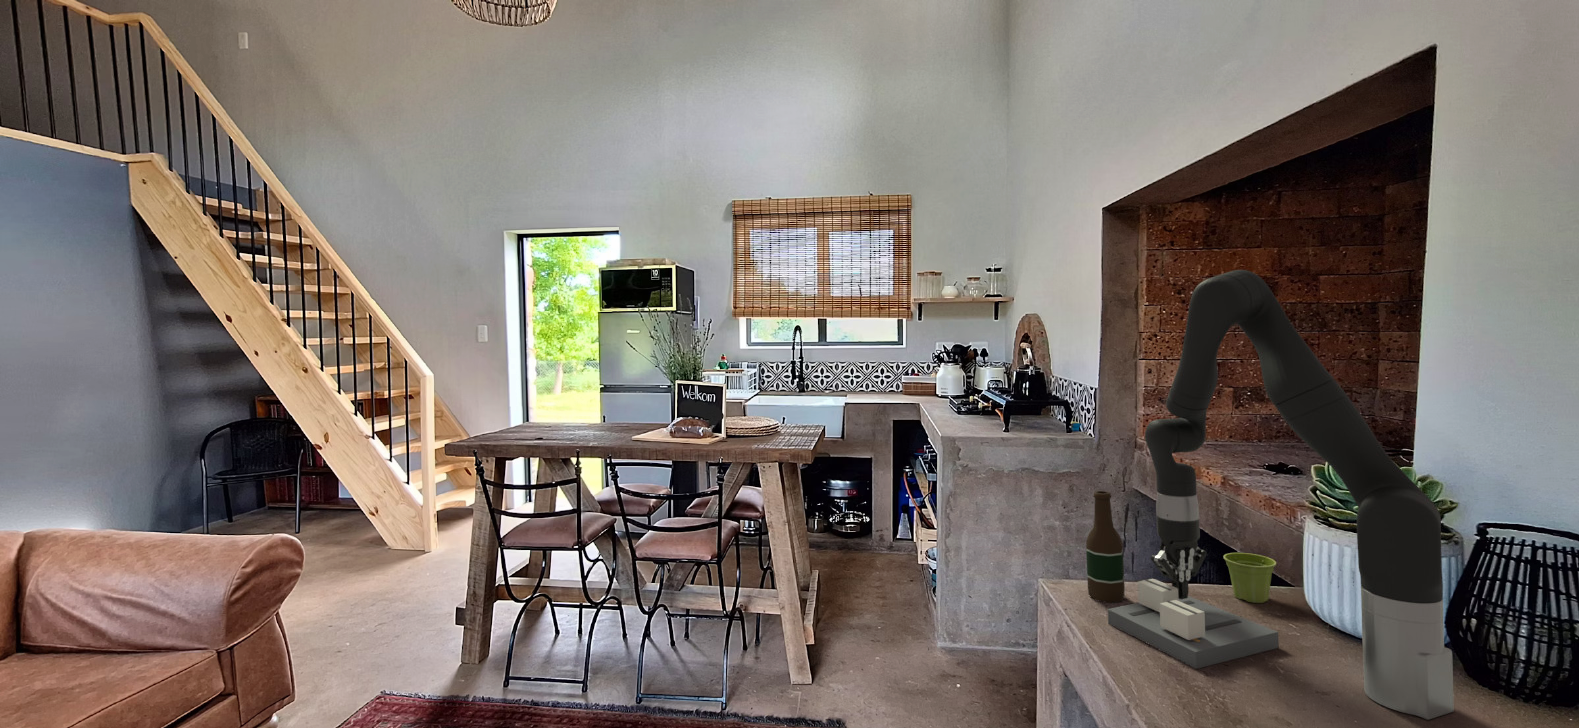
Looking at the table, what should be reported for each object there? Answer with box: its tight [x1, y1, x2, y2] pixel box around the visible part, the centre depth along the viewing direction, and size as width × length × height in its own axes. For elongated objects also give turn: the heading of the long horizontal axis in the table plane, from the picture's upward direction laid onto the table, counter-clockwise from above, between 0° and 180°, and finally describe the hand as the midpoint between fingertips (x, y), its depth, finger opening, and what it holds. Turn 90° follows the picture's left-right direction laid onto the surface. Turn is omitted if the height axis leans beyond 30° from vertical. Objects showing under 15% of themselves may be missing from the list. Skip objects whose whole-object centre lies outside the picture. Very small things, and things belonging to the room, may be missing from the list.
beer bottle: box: [1085, 490, 1126, 603], centre depth 144 cm, size 8×8×24 cm
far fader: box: [1137, 578, 1178, 612], centre depth 129 cm, size 6×4×5 cm, turn 17°
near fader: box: [1160, 600, 1205, 640], centre depth 118 cm, size 6×4×5 cm, turn 17°
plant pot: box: [1223, 552, 1277, 604], centre depth 139 cm, size 9×9×9 cm
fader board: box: [1107, 595, 1280, 670], centre depth 124 cm, size 20×20×3 cm
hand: (1180, 597), depth 131 cm, fingers closed
